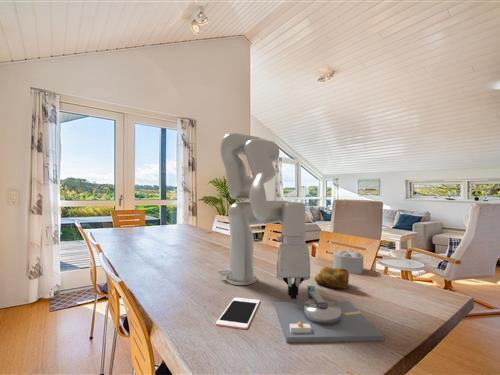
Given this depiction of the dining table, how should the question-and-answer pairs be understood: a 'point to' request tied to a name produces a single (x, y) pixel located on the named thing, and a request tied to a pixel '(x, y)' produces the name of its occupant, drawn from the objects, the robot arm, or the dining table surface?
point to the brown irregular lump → (333, 277)
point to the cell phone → (238, 313)
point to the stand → (307, 331)
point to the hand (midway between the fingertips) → (292, 297)
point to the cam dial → (321, 309)
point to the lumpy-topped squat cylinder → (348, 261)
